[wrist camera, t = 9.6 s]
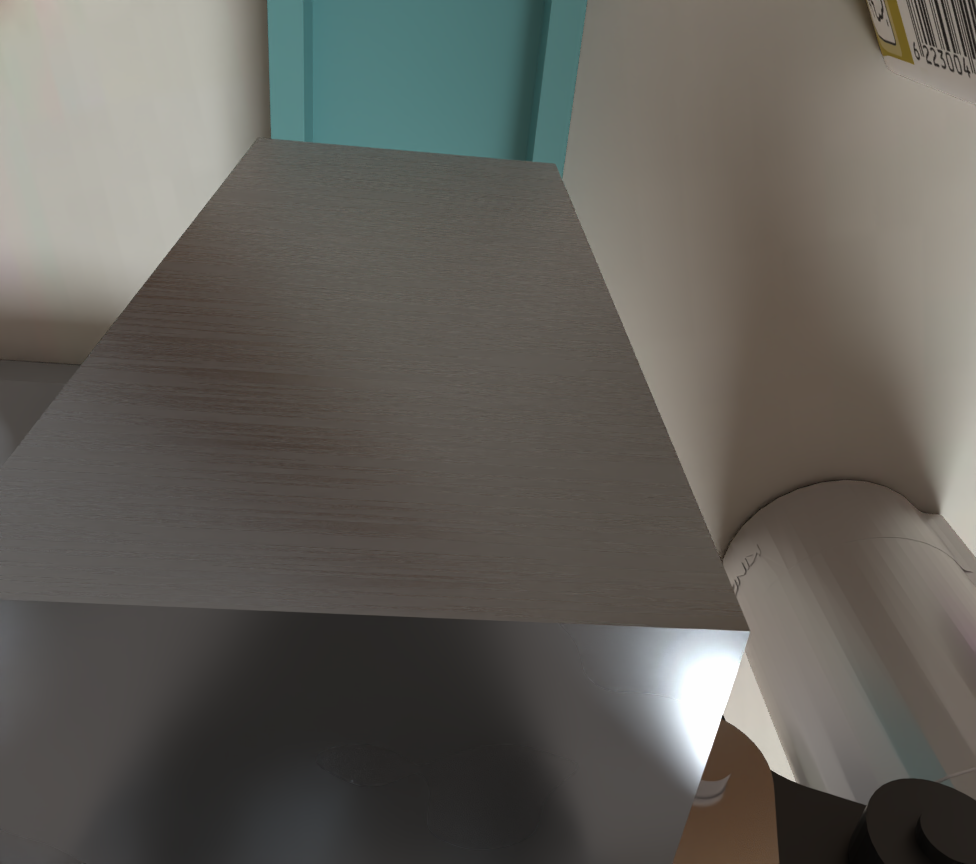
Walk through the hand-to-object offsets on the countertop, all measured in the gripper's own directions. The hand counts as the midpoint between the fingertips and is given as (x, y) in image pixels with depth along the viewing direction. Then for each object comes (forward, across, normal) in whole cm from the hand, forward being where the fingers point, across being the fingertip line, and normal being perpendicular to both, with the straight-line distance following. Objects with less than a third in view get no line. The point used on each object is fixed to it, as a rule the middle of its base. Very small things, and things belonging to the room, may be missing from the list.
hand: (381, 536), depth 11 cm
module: (+3, 0, 0) cm, 3 cm away
